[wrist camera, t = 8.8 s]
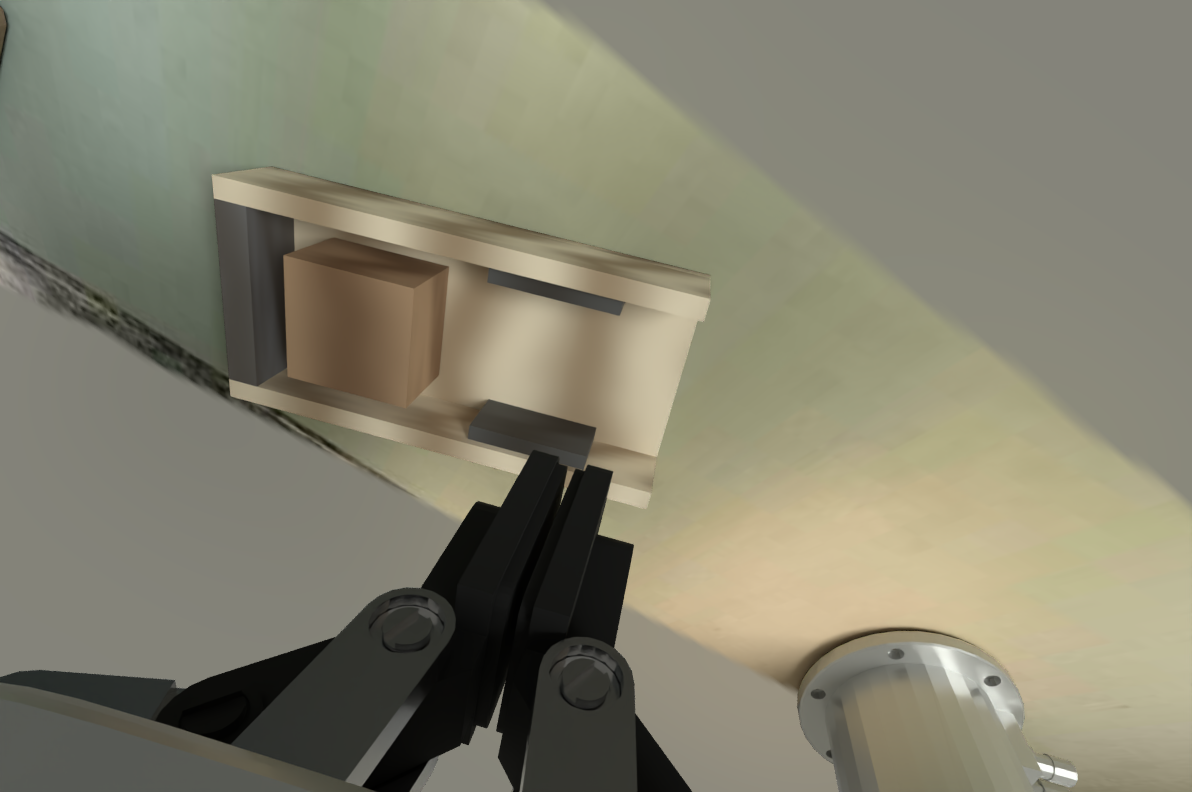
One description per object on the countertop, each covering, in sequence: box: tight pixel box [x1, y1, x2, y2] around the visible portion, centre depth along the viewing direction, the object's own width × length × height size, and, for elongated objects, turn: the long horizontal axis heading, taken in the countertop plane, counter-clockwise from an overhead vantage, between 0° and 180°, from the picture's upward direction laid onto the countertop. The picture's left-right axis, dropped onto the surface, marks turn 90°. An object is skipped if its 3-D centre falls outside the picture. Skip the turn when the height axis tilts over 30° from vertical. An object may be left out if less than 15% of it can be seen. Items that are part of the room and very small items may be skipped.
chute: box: [212, 167, 711, 509], centre depth 30 cm, size 22×11×4 cm, turn 79°
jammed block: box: [283, 238, 449, 408], centre depth 29 cm, size 6×6×4 cm
